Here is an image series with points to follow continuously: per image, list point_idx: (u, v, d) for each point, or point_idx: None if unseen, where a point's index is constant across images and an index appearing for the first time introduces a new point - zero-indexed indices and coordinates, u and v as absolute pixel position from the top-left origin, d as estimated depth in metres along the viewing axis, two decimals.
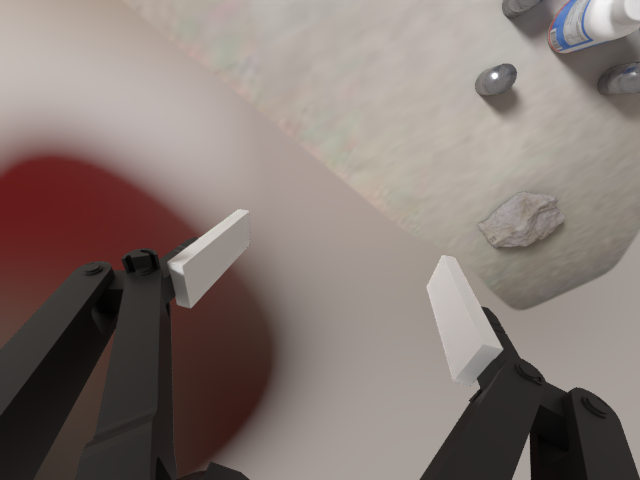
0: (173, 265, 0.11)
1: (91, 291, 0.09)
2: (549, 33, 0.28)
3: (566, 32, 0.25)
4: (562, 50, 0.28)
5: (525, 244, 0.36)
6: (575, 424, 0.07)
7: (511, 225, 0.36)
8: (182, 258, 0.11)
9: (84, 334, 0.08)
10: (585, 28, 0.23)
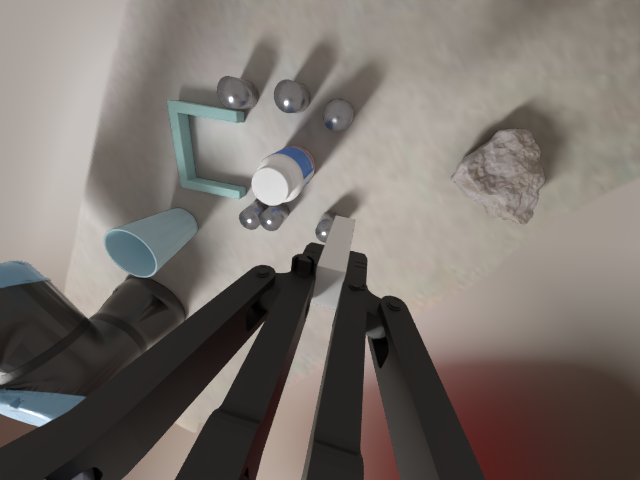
0: (321, 268, 0.12)
1: (253, 294, 0.10)
2: None
3: None
4: (311, 176, 0.31)
5: (539, 183, 0.24)
6: (387, 327, 0.09)
7: (496, 202, 0.26)
8: (326, 262, 0.12)
9: (235, 329, 0.09)
10: None
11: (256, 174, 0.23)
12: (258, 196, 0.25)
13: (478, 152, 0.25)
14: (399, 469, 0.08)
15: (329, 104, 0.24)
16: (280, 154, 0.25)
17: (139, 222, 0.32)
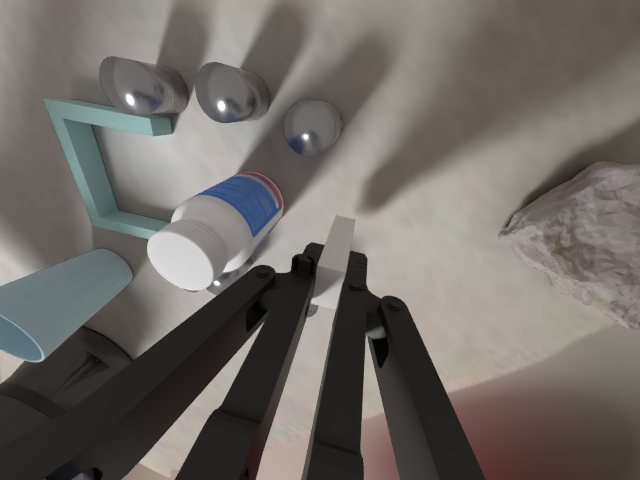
0: (321, 268, 0.12)
1: (253, 293, 0.10)
2: None
3: None
4: (278, 219, 0.20)
5: None
6: (387, 327, 0.09)
7: (586, 287, 0.15)
8: (326, 262, 0.12)
9: (235, 329, 0.09)
10: None
11: (152, 241, 0.12)
12: (164, 275, 0.14)
13: (562, 203, 0.14)
14: (399, 469, 0.08)
15: (293, 109, 0.13)
16: (207, 197, 0.14)
17: (19, 283, 0.21)
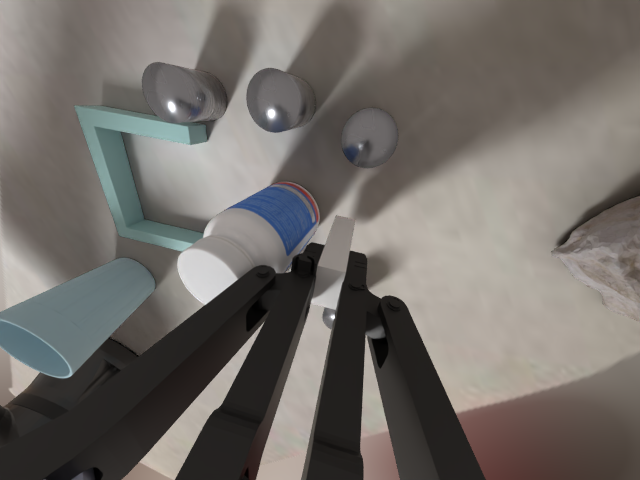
0: (322, 268, 0.12)
1: (253, 294, 0.10)
2: None
3: None
4: (313, 233, 0.19)
5: None
6: (387, 326, 0.09)
7: None
8: (326, 262, 0.12)
9: (235, 329, 0.09)
10: None
11: (182, 257, 0.12)
12: (193, 292, 0.13)
13: (637, 224, 0.13)
14: (399, 469, 0.08)
15: (354, 118, 0.12)
16: (242, 211, 0.13)
17: (46, 297, 0.20)
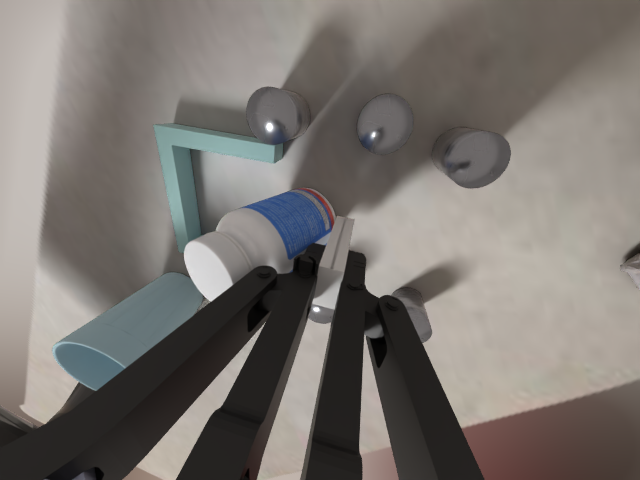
0: (323, 269, 0.12)
1: (255, 294, 0.10)
2: None
3: None
4: (327, 241, 0.18)
5: None
6: (386, 326, 0.09)
7: None
8: (328, 262, 0.12)
9: (236, 330, 0.09)
10: None
11: (187, 248, 0.12)
12: (196, 284, 0.13)
13: None
14: (398, 468, 0.08)
15: (468, 141, 0.13)
16: (249, 211, 0.13)
17: (112, 317, 0.20)
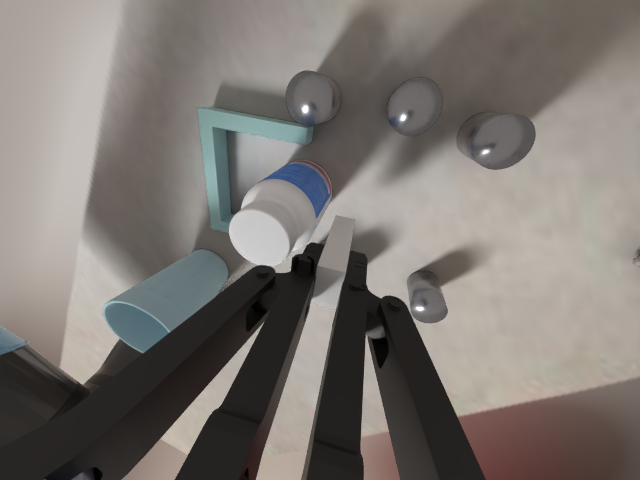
0: (321, 268, 0.12)
1: (253, 294, 0.10)
2: None
3: None
4: (327, 205, 0.21)
5: None
6: (387, 327, 0.09)
7: None
8: (326, 262, 0.12)
9: (235, 329, 0.09)
10: None
11: (235, 219, 0.14)
12: (241, 251, 0.15)
13: None
14: (399, 469, 0.08)
15: (494, 123, 0.13)
16: (278, 181, 0.15)
17: (153, 284, 0.22)
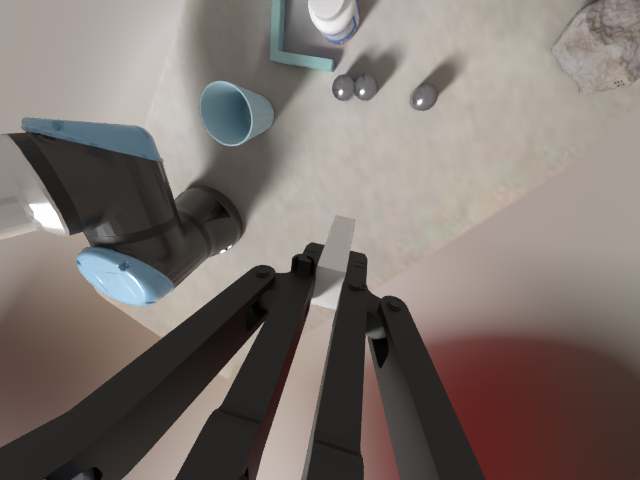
0: (321, 268, 0.12)
1: (253, 294, 0.10)
2: (343, 43, 0.33)
3: (344, 35, 0.30)
4: (356, 26, 0.31)
5: None
6: (387, 327, 0.09)
7: (605, 60, 0.26)
8: (326, 262, 0.12)
9: (235, 329, 0.09)
10: (344, 28, 0.28)
11: None
12: (313, 7, 0.25)
13: (597, 2, 0.25)
14: (399, 469, 0.08)
15: None
16: None
17: None
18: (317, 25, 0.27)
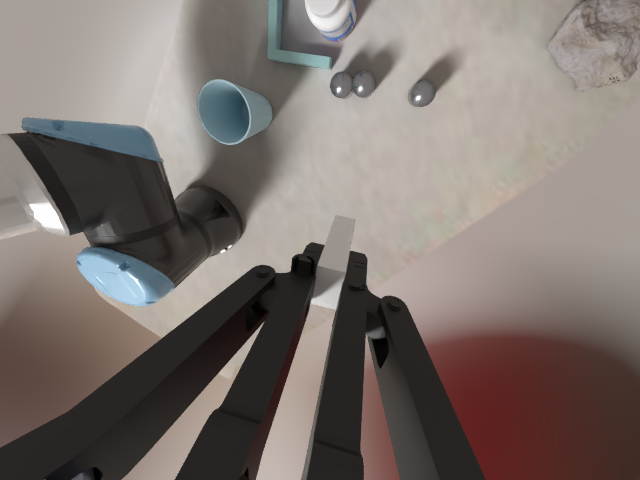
0: (321, 268, 0.12)
1: (253, 294, 0.10)
2: (340, 40, 0.33)
3: (342, 33, 0.30)
4: (354, 23, 0.31)
5: None
6: (387, 327, 0.09)
7: (600, 57, 0.26)
8: (326, 262, 0.12)
9: (235, 329, 0.09)
10: (341, 25, 0.28)
11: None
12: (310, 4, 0.25)
13: None
14: (399, 469, 0.08)
15: None
16: None
17: None
18: (314, 22, 0.27)
